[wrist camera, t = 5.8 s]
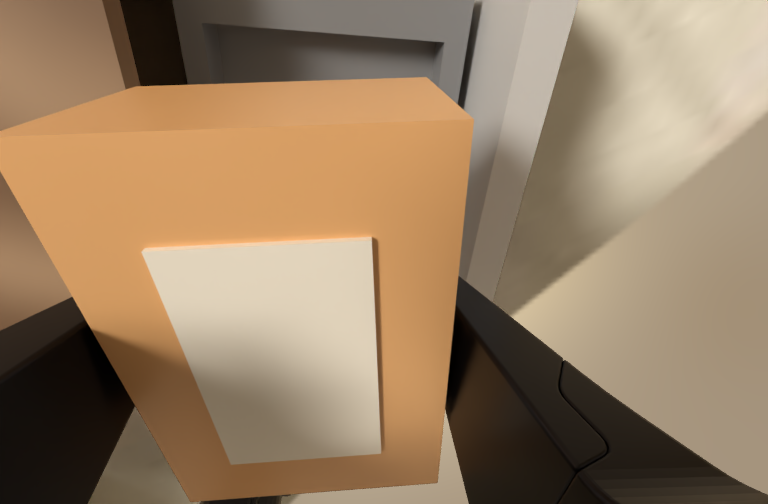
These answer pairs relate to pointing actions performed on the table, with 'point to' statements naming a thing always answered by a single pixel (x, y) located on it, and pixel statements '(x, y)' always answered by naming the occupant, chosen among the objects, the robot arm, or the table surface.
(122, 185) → the orange rectangular block
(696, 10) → the table surface
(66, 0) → the box
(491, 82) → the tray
